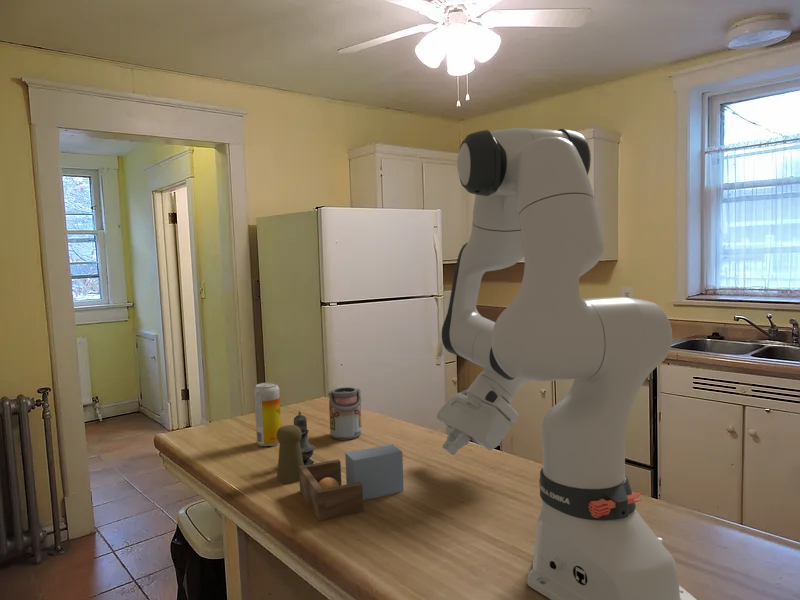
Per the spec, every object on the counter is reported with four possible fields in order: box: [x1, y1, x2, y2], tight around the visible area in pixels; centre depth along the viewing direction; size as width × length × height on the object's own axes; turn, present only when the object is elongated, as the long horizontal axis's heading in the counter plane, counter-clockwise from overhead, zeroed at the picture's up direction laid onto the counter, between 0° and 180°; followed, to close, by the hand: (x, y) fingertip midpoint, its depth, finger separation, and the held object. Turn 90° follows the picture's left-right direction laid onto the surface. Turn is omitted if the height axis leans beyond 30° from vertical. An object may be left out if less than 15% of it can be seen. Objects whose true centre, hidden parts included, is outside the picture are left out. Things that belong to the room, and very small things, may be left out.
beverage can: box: [327, 386, 363, 441], centre depth 146 cm, size 9×8×12 cm
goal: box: [299, 459, 364, 521], centre depth 108 cm, size 14×8×5 cm, turn 23°
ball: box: [318, 477, 339, 489], centre depth 108 cm, size 4×4×4 cm
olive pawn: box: [276, 424, 304, 484], centre depth 120 cm, size 6×6×11 cm
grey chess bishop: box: [293, 411, 315, 465], centre depth 128 cm, size 6×6×12 cm
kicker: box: [344, 444, 404, 501], centre depth 111 cm, size 5×10×8 cm, turn 113°
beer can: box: [253, 382, 282, 448], centre depth 142 cm, size 6×6×15 cm
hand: (447, 451), depth 118 cm, fingers closed
